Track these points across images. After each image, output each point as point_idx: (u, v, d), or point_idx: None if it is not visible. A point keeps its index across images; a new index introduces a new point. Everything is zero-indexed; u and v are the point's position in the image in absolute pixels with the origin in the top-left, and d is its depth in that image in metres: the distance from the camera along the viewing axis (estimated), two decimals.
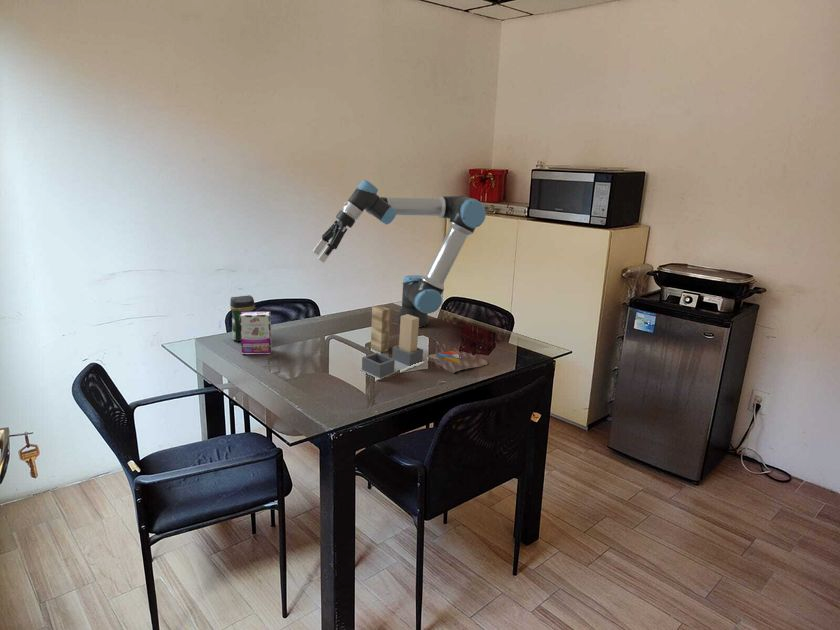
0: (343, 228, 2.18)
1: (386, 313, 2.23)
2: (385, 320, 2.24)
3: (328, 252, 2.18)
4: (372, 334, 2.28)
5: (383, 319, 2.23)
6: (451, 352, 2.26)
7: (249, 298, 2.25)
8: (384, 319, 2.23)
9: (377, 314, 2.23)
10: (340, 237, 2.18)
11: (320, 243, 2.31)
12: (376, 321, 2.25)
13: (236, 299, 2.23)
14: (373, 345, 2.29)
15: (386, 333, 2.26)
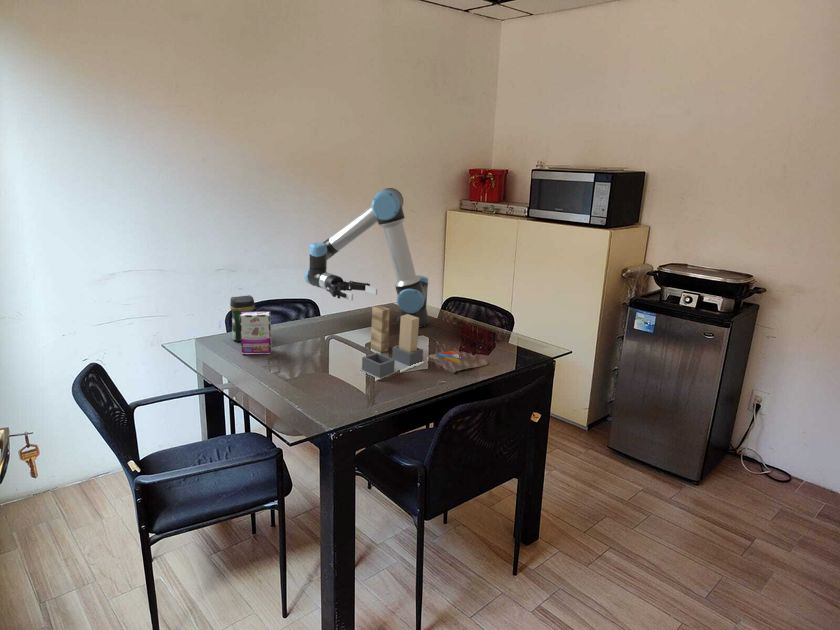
0: (327, 289, 2.34)
1: (386, 313, 2.23)
2: (385, 320, 2.24)
3: (342, 295, 2.26)
4: (372, 334, 2.28)
5: (383, 319, 2.23)
6: (451, 352, 2.26)
7: (249, 298, 2.25)
8: (384, 319, 2.23)
9: (377, 314, 2.23)
10: (330, 289, 2.31)
11: (368, 291, 2.37)
12: (376, 321, 2.25)
13: (236, 299, 2.23)
14: (373, 345, 2.29)
15: (386, 333, 2.26)
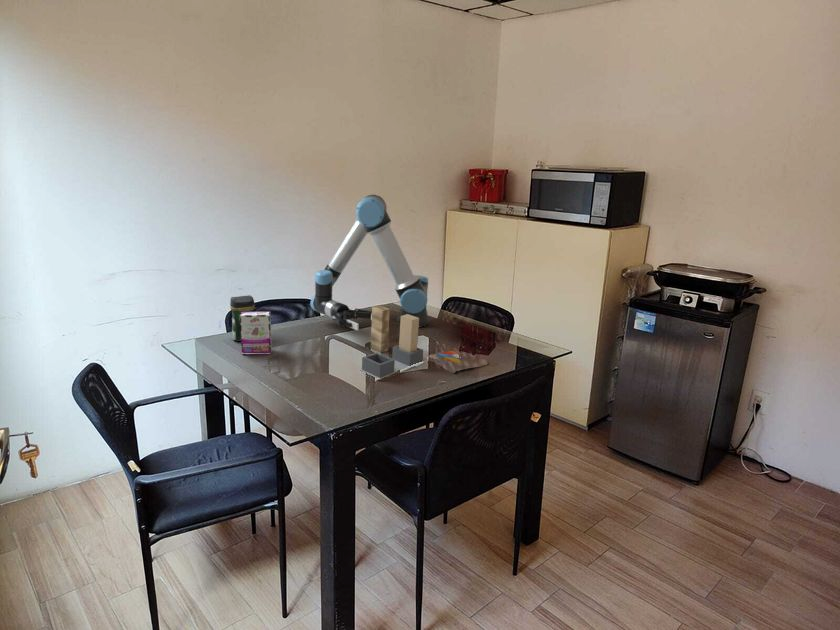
0: (333, 317, 2.35)
1: (386, 313, 2.23)
2: (385, 320, 2.24)
3: (347, 324, 2.27)
4: (372, 334, 2.28)
5: (383, 319, 2.23)
6: (451, 352, 2.26)
7: (249, 298, 2.25)
8: (384, 319, 2.23)
9: (377, 314, 2.23)
10: (336, 318, 2.31)
11: None
12: (376, 321, 2.25)
13: (236, 299, 2.23)
14: (373, 345, 2.29)
15: (386, 333, 2.26)
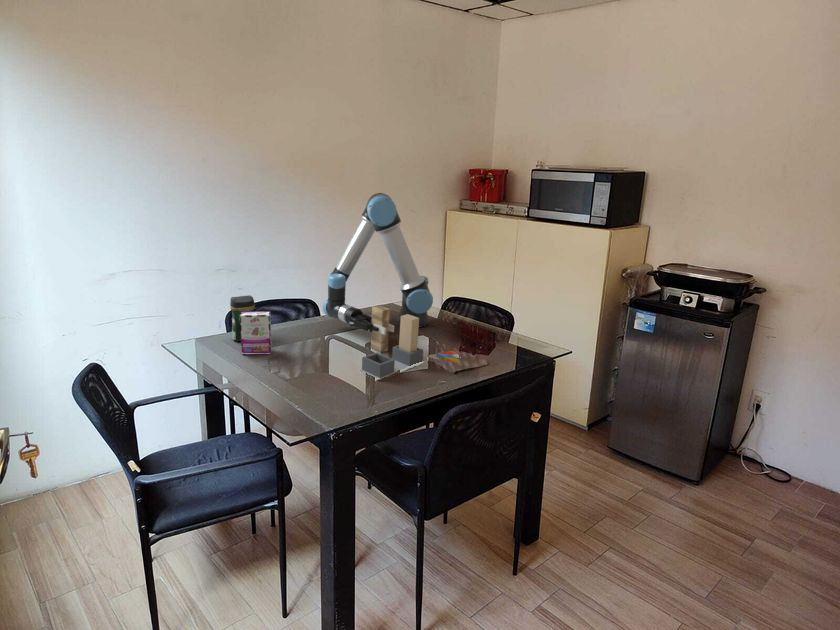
0: (351, 323, 2.29)
1: (386, 313, 2.23)
2: (385, 320, 2.24)
3: (374, 329, 2.23)
4: (372, 334, 2.28)
5: (383, 319, 2.23)
6: (452, 352, 2.26)
7: (249, 298, 2.25)
8: (384, 319, 2.23)
9: (377, 314, 2.23)
10: (358, 324, 2.27)
11: None
12: (376, 321, 2.25)
13: (236, 299, 2.23)
14: (373, 345, 2.29)
15: (386, 333, 2.26)
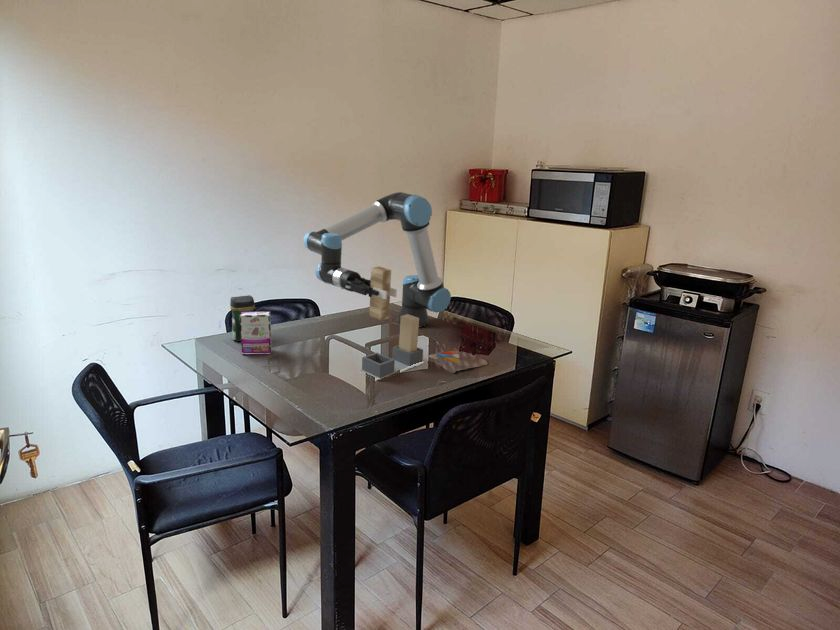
0: (347, 287, 1.99)
1: (388, 275, 1.94)
2: (386, 283, 1.94)
3: (374, 292, 1.94)
4: (371, 299, 1.98)
5: (383, 281, 1.93)
6: (452, 352, 2.26)
7: (249, 298, 2.25)
8: (385, 282, 1.94)
9: (377, 276, 1.94)
10: (355, 287, 1.97)
11: None
12: (376, 284, 1.95)
13: (236, 299, 2.23)
14: (372, 312, 1.99)
15: (387, 298, 1.97)
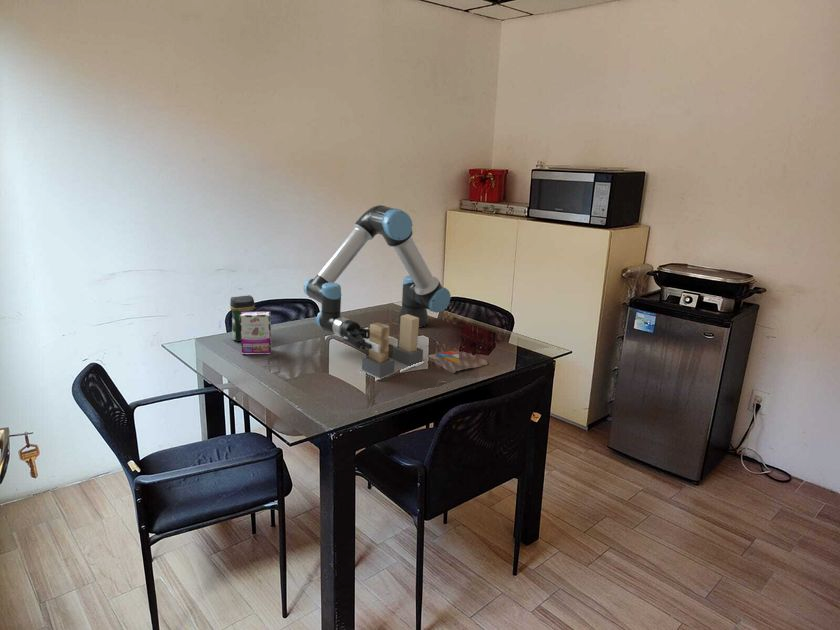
0: (344, 338, 2.06)
1: (386, 331, 2.00)
2: (384, 339, 2.01)
3: (367, 346, 1.99)
4: (370, 354, 2.05)
5: (382, 338, 2.00)
6: (452, 352, 2.26)
7: (249, 298, 2.25)
8: (384, 338, 2.00)
9: (376, 332, 2.00)
10: (351, 339, 2.03)
11: None
12: (374, 340, 2.02)
13: (236, 299, 2.23)
14: None
15: (386, 353, 2.03)
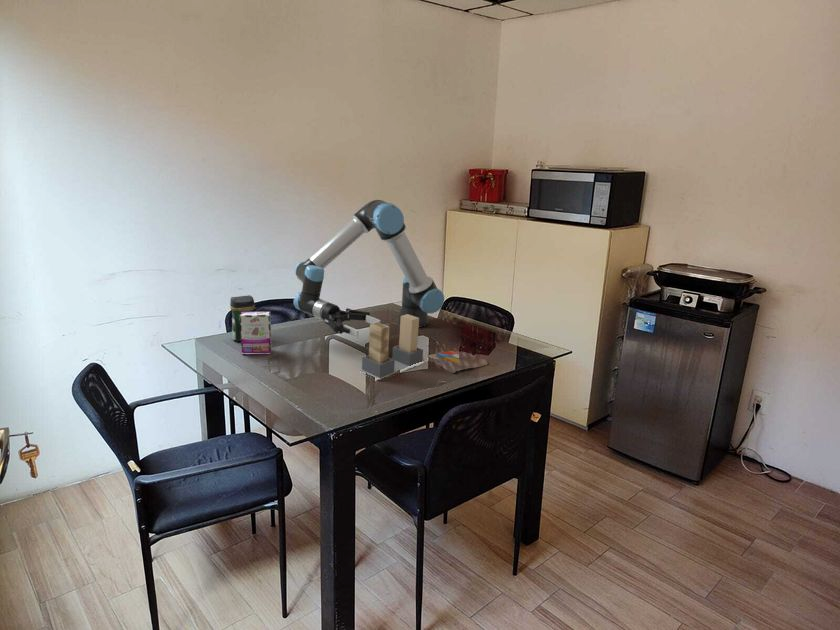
0: (325, 321, 2.13)
1: (386, 331, 2.00)
2: (384, 339, 2.01)
3: (345, 331, 2.07)
4: (370, 354, 2.05)
5: (382, 338, 2.00)
6: (452, 352, 2.26)
7: (249, 298, 2.25)
8: (384, 338, 2.00)
9: (376, 332, 2.00)
10: (330, 323, 2.10)
11: (369, 321, 2.19)
12: (374, 340, 2.02)
13: (236, 299, 2.23)
14: None
15: (386, 353, 2.03)
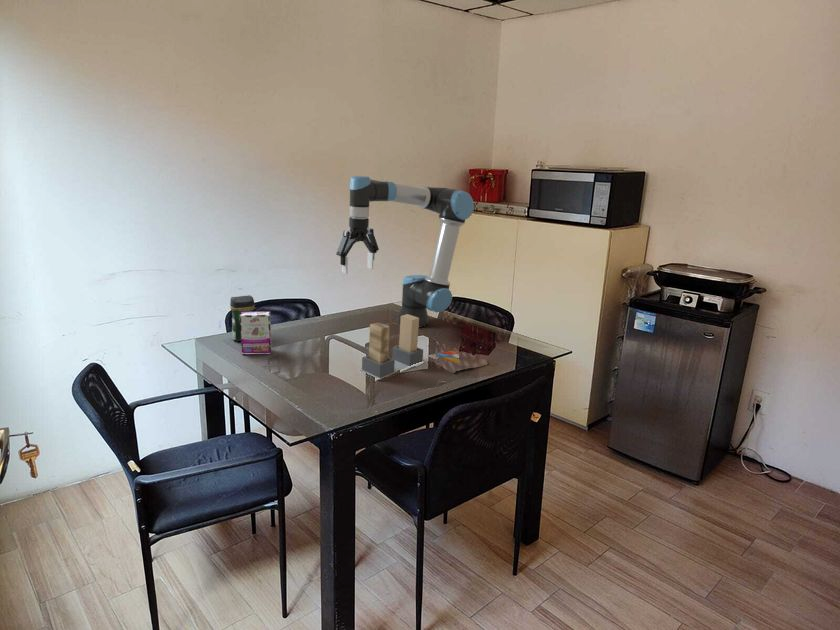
0: (344, 233, 2.11)
1: (386, 331, 2.00)
2: (384, 339, 2.01)
3: (341, 262, 2.13)
4: (370, 354, 2.05)
5: (382, 338, 2.00)
6: (452, 352, 2.26)
7: (249, 298, 2.25)
8: (384, 338, 2.00)
9: (376, 332, 2.00)
10: (343, 242, 2.10)
11: (368, 256, 2.24)
12: (374, 340, 2.02)
13: (236, 299, 2.23)
14: None
15: (386, 353, 2.03)
